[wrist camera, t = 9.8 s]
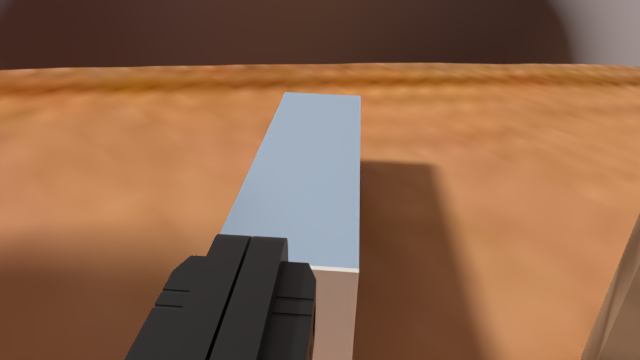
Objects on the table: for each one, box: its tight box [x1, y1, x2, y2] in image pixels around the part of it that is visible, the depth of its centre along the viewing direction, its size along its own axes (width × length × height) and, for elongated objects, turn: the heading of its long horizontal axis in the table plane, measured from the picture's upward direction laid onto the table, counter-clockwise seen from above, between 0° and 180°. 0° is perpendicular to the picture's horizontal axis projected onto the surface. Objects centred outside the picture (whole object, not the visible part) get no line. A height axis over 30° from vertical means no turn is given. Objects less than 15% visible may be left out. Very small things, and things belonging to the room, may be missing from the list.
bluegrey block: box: [220, 92, 361, 360], centre depth 24 cm, size 5×5×18 cm
